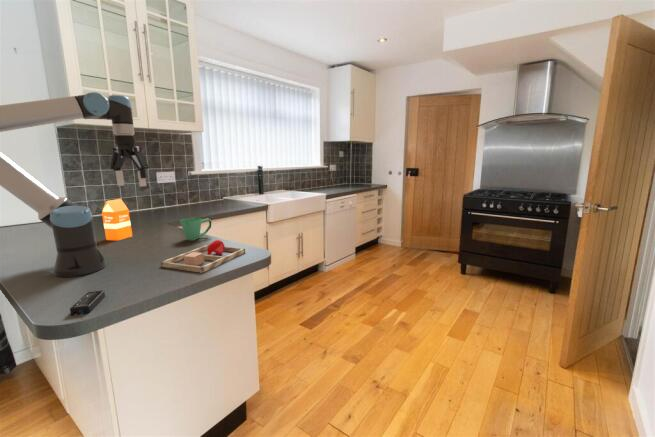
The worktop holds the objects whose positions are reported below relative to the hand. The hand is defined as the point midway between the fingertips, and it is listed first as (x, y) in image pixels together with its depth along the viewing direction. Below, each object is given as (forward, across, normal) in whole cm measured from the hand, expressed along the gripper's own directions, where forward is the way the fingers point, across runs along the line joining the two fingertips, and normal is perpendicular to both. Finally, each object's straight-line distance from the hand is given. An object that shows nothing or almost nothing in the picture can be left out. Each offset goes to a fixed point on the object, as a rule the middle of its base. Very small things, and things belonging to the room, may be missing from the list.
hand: (131, 186), depth 137 cm
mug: (+29, -10, -24) cm, 39 cm away
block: (+29, -38, +7) cm, 48 cm away
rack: (+29, -38, +1) cm, 48 cm away
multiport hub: (+29, -36, +44) cm, 64 cm away
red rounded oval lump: (+29, -38, -5) cm, 48 cm away
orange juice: (+29, +31, -12) cm, 44 cm away
